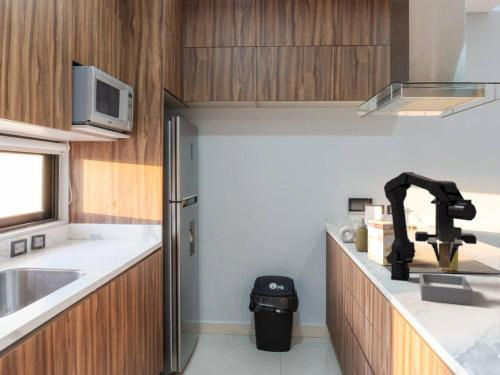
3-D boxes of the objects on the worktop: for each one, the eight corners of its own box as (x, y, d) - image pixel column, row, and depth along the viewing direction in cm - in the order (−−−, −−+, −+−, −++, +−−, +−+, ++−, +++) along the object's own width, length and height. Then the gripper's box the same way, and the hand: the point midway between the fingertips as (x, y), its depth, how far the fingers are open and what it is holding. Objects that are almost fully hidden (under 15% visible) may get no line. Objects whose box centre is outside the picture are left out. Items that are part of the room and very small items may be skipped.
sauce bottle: (443, 269, 169) (443, 224, 168) (459, 271, 165) (459, 225, 164) (439, 272, 164) (440, 226, 163) (456, 274, 160) (456, 227, 159)
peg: (439, 267, 133) (439, 244, 133) (438, 265, 136) (438, 242, 136) (450, 268, 132) (450, 245, 132) (449, 265, 135) (449, 243, 135)
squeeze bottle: (354, 251, 208) (354, 218, 207) (355, 249, 216) (355, 217, 215) (369, 252, 205) (369, 219, 204) (370, 249, 213) (370, 217, 212)
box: (421, 300, 129) (421, 285, 129) (419, 286, 145) (419, 272, 145) (472, 305, 124) (472, 290, 124) (464, 290, 140) (464, 276, 139)
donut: (355, 242, 236) (355, 226, 235) (355, 243, 233) (355, 226, 232) (339, 241, 238) (339, 225, 238) (339, 242, 235) (338, 226, 235)
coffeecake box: (396, 265, 178) (396, 223, 177) (382, 265, 177) (382, 223, 176) (380, 258, 193) (380, 219, 192) (367, 258, 191) (367, 219, 191)
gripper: (416, 219, 129) (416, 265, 130) (480, 221, 123) (479, 269, 123) (415, 215, 140) (414, 258, 140) (473, 217, 133) (473, 262, 134)
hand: (444, 262), depth 134 cm, fingers closed on peg, 3 cm apart
